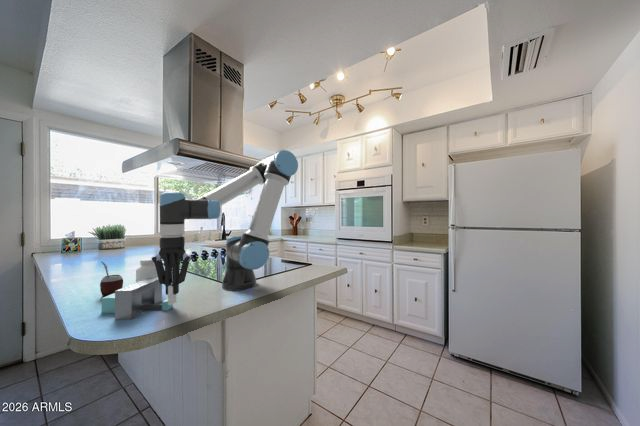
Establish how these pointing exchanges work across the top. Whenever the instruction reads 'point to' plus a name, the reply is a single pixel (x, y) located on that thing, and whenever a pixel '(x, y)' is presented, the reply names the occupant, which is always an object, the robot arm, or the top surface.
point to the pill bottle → (146, 270)
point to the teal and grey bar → (109, 305)
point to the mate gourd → (110, 283)
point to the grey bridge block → (137, 297)
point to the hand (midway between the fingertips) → (172, 303)
